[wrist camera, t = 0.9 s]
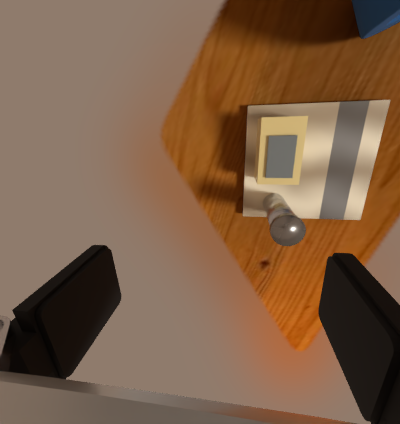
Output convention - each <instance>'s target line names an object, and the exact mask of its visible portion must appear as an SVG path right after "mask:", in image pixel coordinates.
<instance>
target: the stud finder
mask: <svg viewBox="0 0 400 424" xmlns="http://www.w3.org/2000/svg"><path fill="white" fill-rule="evenodd" d="M307 122H308V116H289V117H262V118H260V119H258V128H257V143H256V159H255V175H254V178H255V180H256V183H257V184H270V185H299V180H300V173H301V166H302V158H303V151H304V144H305V136H306V129H307Z"/></svg>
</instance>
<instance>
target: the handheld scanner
mask: <svg viewBox="0 0 400 424" xmlns="http://www.w3.org/2000/svg"><path fill="white" fill-rule="evenodd" d="M352 4H353V9H354V13H355V17H356V21H357V26H358V30H359V34H360V38H361V39H364V38H368V37H370V36H373V35H375V34H377V33H379V32H381V31H383V30H385V29H387V28H389V27H391V26H393V25H395V24H397V23H399V22H400V0H352Z"/></svg>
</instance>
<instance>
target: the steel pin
mask: <svg viewBox="0 0 400 424" xmlns="http://www.w3.org/2000/svg"><path fill="white" fill-rule="evenodd" d="M263 207H264V210H265V213H266V215H267V218H268V221H269V224H270V233H271V236H272V238H273V240H274V241H275V242H276V243H278V244H280V245H283V246H292V245H295V244H297V243H299V242H300V241H301V240H302V239H303V237H304V235H305V232H306V228H305V225H304V223H303V222H302V220H301V219H300V218H299V217H298V216H297V215H295V214H294V213H293V211H292V210H291V208H290V207H289V205H288V204H287V202H286V201H285V200H284V198H283V197H282V196H281V195H280V194H277V193H272V194H269V195H267V196H266V197H265V199H264V201H263Z"/></svg>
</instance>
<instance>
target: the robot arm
mask: <svg viewBox="0 0 400 424" xmlns="http://www.w3.org/2000/svg"><path fill="white" fill-rule="evenodd" d="M120 301H121V292H120V287H119V283H118V278H117V274H116V270H115V265H114V261H113V256H112V252H111V250H110V249H108V247H107V246H105V245H93V246H91V247H90V248H89V249H87V250H86V251H85V252H84V253H82V254H81V255H80V256H79V257H77V258H76V259H75V260H74V261H72V262H71V263H70V264H69V265H68V266H66V267H65V268H64V269H63V270H61V271H60V272H59V273H58V274H56V275H55V276H54V277H53V278H51V279H50V280H49V281H48V282H47V283H45V284H44V285H43V286H42V287H40V288H39V289H38V290H37V291H35V292H34V293H33V294H32V295H30V296H29V297H28V298H27V299H25V300H24V301H23V302H22V303H21V304H19V305H18V306H17V307H16V308H14V309H13V313H14V315H15V317H16V318H14V319H13V320H12V321H10V319H9V318H8V317H6V316H0V424H355V423H350V422H344V421H338V420H332V419H326V418H321V417H314V416H308V415H301V414H295V413H288V412H282V411H275V410H269V409H263V408H256V407H249V406H242V405H237V404H230V403H223V402H217V401H210V400H203V399H196V398H189V397H184V396H177V395H170V394H163V393H156V392H150V391H143V390H136V389H129V388H122V387H116V386H109V385H102V384H95V383H87V382H80V381H73V380H66V378H67V377H69V376H70V375H71V374H72V373H73V372H74V370H75V369H76V367H77V366H78V364H79V363H80V361H81V360H82V358H83V357H84V355H85V354H86V352H87V351H88V349H89V348H90V346H91V345H92V343H93V342H94V340H95V339H96V337H97V336H98V334H99V333H100V331H101V330H102V328H103V327H104V326H105V324H106V323H107V321H108V319H109V318H110V317H111V315H112V314H113V312H114V311H115V309H116V308H117V306H118V305H119V303H120ZM319 317H320V320H321V323H322V325H323V327H324V329H325V331H326V334H327V336H328V339H329V341H330V343H331V345H332V348H333V350H334V352H335V355H336V357H337V359H338V361H339V363H340V366H341V368H342V370H343V373H344V375H345V377H346V380H347V382H348V384H349V386H350V389H351V391H352V393H353V396H354V398H355V400H356V402H357V405H358V407H359V409H360V412H361V414H362V416H363V417H364V419H365V420H366V421H370V422H371V424H400V305H399V304H398V303H397V302H396V301H395V299H394V298H393V297H392V296H391V295H390V294H389V293H388V292H387V291H386V290H385V289H384V288H383V287H382V286H381V284H380V283H379V282H378V281H377V280H376V279H375V278H374V277H373V276H372V275H371V274H370V273H369V271H368V270H367V269H366V268H365V267H364V266H363V265H362V264H361V263H360V262H359V261H358V259H357V258H356V257H355V256H354V255H353V254H350V253H334V254H333V256H332V257H331V256H329V257H328V259H327V265H326V270H325V276H324V282H323V287H322V293H321V299H320V305H319Z"/></svg>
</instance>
